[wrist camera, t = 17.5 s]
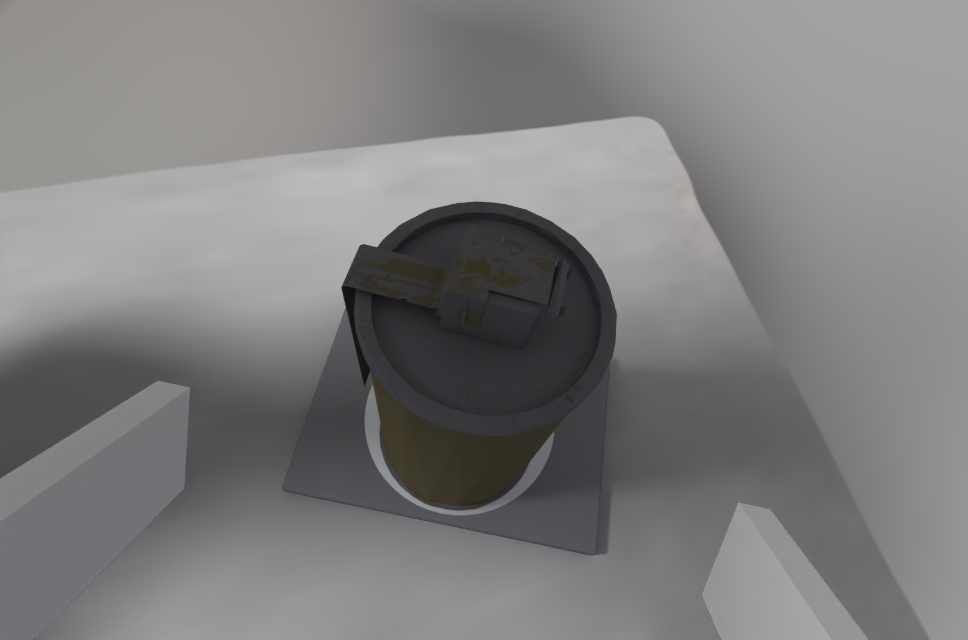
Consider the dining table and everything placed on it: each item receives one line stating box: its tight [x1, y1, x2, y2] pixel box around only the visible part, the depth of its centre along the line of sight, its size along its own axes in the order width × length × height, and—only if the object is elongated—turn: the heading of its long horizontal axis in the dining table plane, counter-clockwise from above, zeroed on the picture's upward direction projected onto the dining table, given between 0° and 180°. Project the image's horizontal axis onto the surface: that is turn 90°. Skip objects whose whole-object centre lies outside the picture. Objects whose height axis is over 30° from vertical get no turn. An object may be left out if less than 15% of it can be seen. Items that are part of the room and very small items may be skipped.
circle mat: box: [282, 308, 610, 555], centre depth 37 cm, size 20×14×1 cm
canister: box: [341, 202, 617, 511], centre depth 28 cm, size 11×10×20 cm
